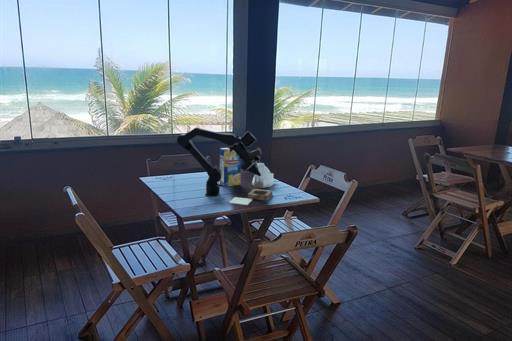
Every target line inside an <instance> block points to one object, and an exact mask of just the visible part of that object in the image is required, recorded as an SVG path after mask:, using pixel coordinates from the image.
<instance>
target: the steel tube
mask: <svg viewBox="0 0 512 341" xmlns="http://www.w3.org/2000/svg"><path fill="white" fill-rule="evenodd" d="M264 165H265V163H264V162H259V163H256V167H257V169H258V171H259V172H260V174H261V176H258V175H256V174H254V175H255V178H254V177H253V178H254V185H253V186H254V187H255V188H260V187H263V184H264ZM263 188H264V187H263Z"/></svg>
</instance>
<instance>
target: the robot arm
mask: <svg viewBox="0 0 512 341" xmlns="http://www.w3.org/2000/svg"><path fill="white" fill-rule="evenodd" d="M197 136H198V137H203V138H207V139H211V140H216V141H218V142H220V143H222V144H225V145H227V146H229V148H230V152H232V151H233V150H234V151H235V153H236V154H237V155H238V156H239V157H240V158H239V159H240V160H241V162H243V163H244V164H242V165H241V169H242V171H243V172H245V171H247V172H249V173H252V174H254V175H255V174H256V175H258V176H261V174H260V172H259V171H258V169H257V167H256V163H261V162H260V161H261V158H262V157H261V155H262V154H263V151H262V149H261V148H260V147H259V146H258V147H254V150H250V149H247V148H250V147H251V146H252V145H253V144H254V143H255V142H256V141H257V138H256V137H255V136H254V134H252V132H250V131H248V130H247V131H246V132H245V133H244V135H243V136H237V135H235V134H234V133H230V132H217V131H213V130H209V129H205V128H202V127H201V128H200V127H198V126H195V127H194V128H193V129H191V130H190V131H188V132H187V133H181V134H180V135H178V136H177V139H176V142H177V144H178V145H179V146H180V147H182V148H183V149H184V150H186V151H187V152H189V154H190V155H191V156H192V157H193V158H194V159H195V160H196V161H197V162H198V164H199V165H200V166H201V167H202V168H203V169H204V170H205V171H206V174H207V176H208V177H207V180H206V183H205V184H206V185H205V186H206V187H205V188H206V189H205V190H206V191H205V193H204V195H205V196H209V197H217V196H218V195H220V193H221V192H220V188H221V187H220V186H219V185H220V180H221V177H222V173H221V170H220V167H218V165H215V166H214V165H212V164H211V163H210V162H209V161H208V159H207V158H206V157H205V156H204V155H203V154H202V153H201V151H200V150H198V148H197V147H196V146H195V144H194V142H193V140H192V139H194V138H195V137H197Z"/></svg>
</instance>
